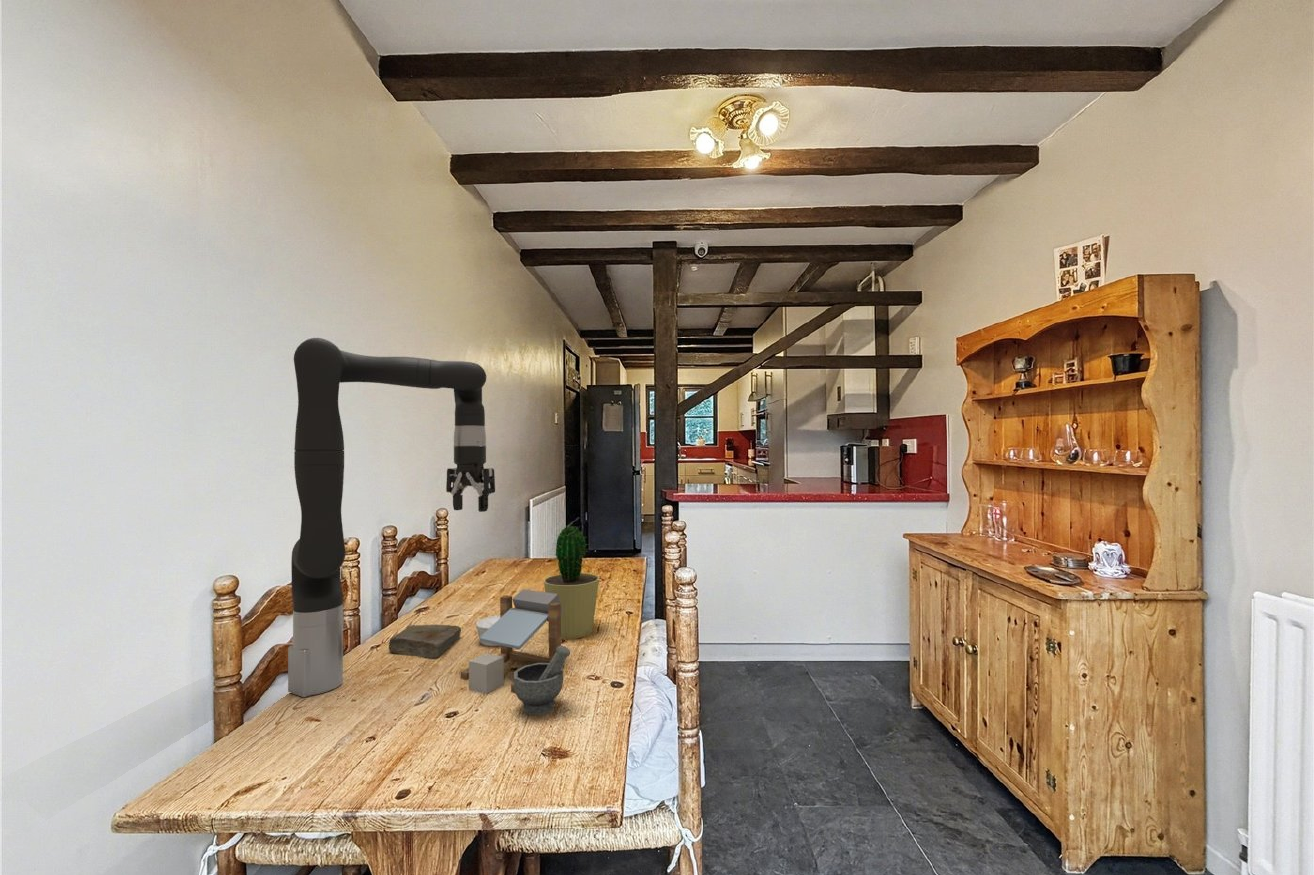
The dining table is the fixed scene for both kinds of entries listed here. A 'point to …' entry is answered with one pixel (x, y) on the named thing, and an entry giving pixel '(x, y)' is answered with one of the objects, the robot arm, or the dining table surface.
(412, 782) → the dining table surface
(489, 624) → the ramekin
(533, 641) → the dining table surface
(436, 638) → the dark stone slab
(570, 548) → the potted cactus
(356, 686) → the dining table surface
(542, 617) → the trapdoor
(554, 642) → the frame
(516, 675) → the mortar and pestle
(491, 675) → the grey block
